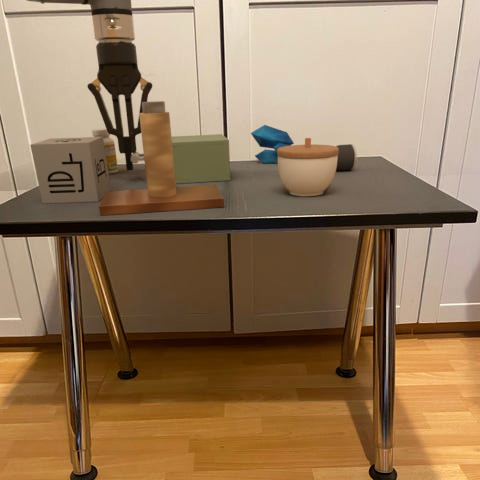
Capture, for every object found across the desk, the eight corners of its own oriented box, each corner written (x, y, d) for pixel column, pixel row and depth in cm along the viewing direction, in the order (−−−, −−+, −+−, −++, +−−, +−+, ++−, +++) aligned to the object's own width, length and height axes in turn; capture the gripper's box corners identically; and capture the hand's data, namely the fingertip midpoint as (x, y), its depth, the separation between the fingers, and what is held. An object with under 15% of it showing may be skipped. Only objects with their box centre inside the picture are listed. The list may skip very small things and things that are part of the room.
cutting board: (100, 215, 77) (98, 206, 76) (107, 199, 88) (106, 191, 87) (224, 207, 79) (223, 198, 79) (216, 192, 90) (215, 184, 89)
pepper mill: (148, 198, 80) (137, 102, 74) (148, 192, 85) (138, 101, 78) (177, 196, 81) (168, 101, 74) (176, 191, 85) (168, 100, 79)
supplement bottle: (96, 171, 118) (89, 128, 113) (118, 170, 118) (113, 127, 114) (94, 175, 113) (87, 130, 108) (117, 173, 114) (111, 129, 109)
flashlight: (289, 176, 103) (289, 150, 101) (281, 172, 108) (281, 147, 106) (355, 171, 106) (357, 145, 104) (345, 167, 111) (347, 142, 108)
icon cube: (98, 201, 86) (88, 142, 82) (42, 203, 86) (30, 144, 82) (110, 190, 95) (102, 136, 91) (60, 192, 95) (50, 138, 91)
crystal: (298, 134, 114) (250, 123, 115) (290, 171, 118) (242, 160, 119) (300, 131, 121) (254, 121, 121) (292, 166, 125) (247, 156, 125)
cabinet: (160, 184, 99) (156, 143, 96) (160, 174, 110) (156, 137, 107) (230, 180, 101) (229, 139, 97) (223, 171, 112) (221, 134, 109)
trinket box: (278, 200, 83) (279, 142, 79) (275, 188, 92) (275, 136, 88) (341, 198, 83) (344, 140, 78) (331, 186, 92) (333, 134, 88)
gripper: (78, 41, 88) (97, 173, 99) (148, 40, 90) (160, 170, 100) (84, 44, 95) (101, 167, 105) (149, 43, 97) (160, 165, 107)
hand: (130, 169), depth 103 cm, fingers closed
